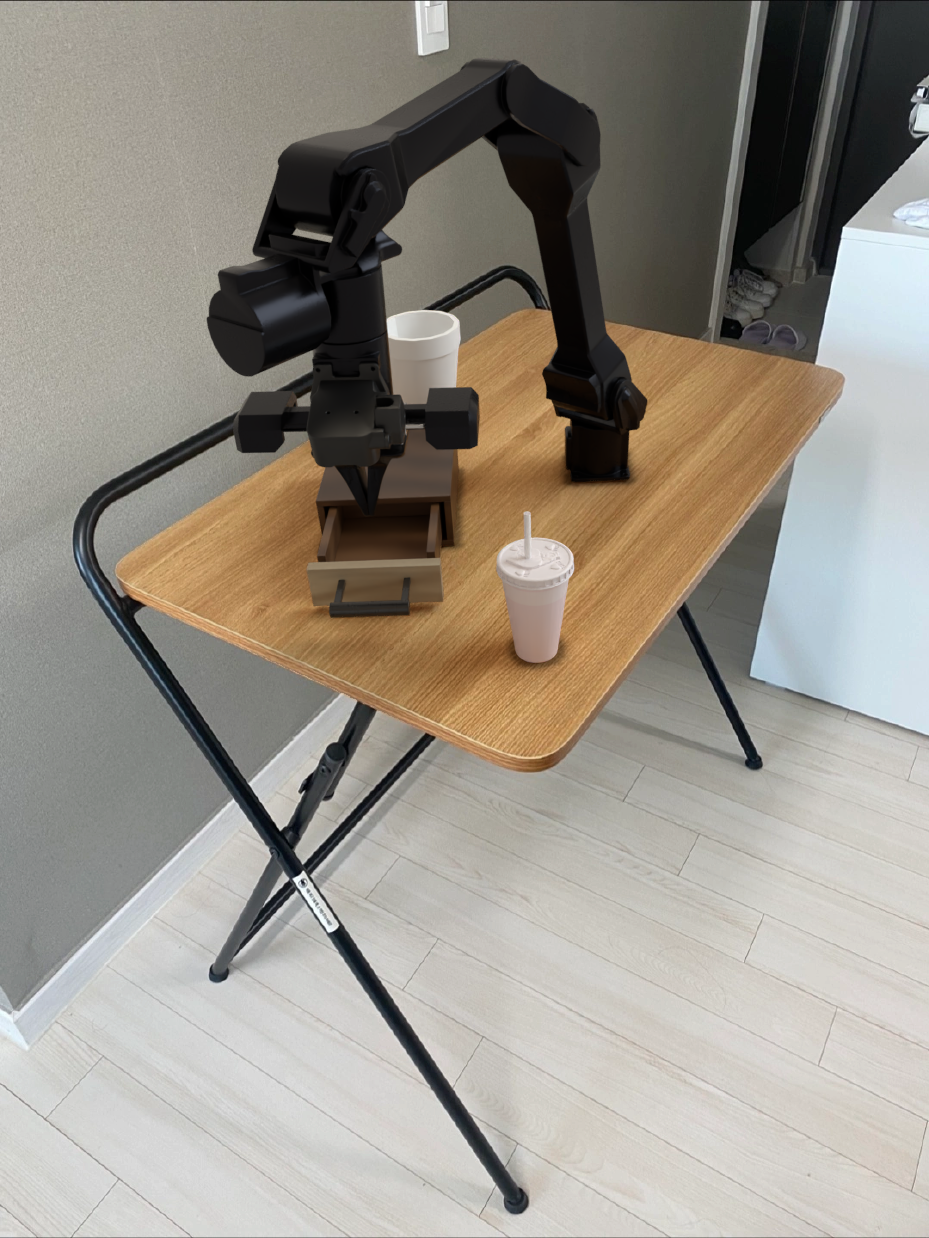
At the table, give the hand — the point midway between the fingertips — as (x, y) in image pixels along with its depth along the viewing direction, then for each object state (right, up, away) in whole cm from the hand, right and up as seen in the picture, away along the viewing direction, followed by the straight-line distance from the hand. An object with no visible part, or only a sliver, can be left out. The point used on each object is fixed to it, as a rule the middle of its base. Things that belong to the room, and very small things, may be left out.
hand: (370, 513), depth 80 cm
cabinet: (0, +3, +24) cm, 24 cm away
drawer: (0, -4, +13) cm, 14 cm away
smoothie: (+14, -12, +4) cm, 19 cm away
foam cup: (+3, +15, +39) cm, 42 cm away
